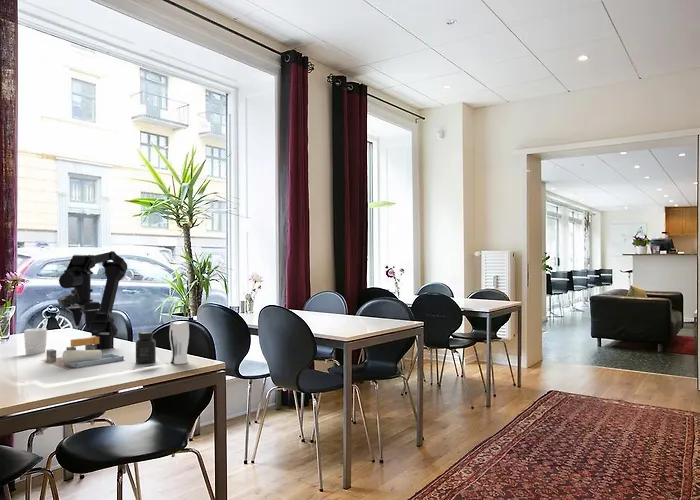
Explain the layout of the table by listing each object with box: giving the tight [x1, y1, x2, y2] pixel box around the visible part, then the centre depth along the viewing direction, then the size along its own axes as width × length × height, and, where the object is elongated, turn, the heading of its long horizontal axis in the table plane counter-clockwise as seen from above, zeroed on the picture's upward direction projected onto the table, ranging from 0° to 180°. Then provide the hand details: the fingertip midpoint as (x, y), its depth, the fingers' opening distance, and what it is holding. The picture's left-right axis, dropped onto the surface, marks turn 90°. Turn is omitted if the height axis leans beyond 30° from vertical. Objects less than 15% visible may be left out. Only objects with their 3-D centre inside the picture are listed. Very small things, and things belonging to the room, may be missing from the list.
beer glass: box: [169, 320, 190, 366], centre depth 196 cm, size 7×7×15 cm
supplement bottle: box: [135, 331, 157, 368], centre depth 192 cm, size 7×7×12 cm
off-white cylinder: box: [61, 349, 103, 362], centre depth 189 cm, size 12×4×4 cm, turn 140°
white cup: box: [23, 327, 48, 356], centre depth 211 cm, size 8×8×10 cm
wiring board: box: [40, 344, 126, 371], centre depth 196 cm, size 20×24×5 cm
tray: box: [64, 353, 125, 369], centre depth 192 cm, size 17×9×2 cm, turn 140°
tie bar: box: [70, 336, 99, 348], centre depth 203 cm, size 10×3×2 cm, turn 140°
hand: (82, 326), depth 205 cm, fingers open, 9 cm apart
